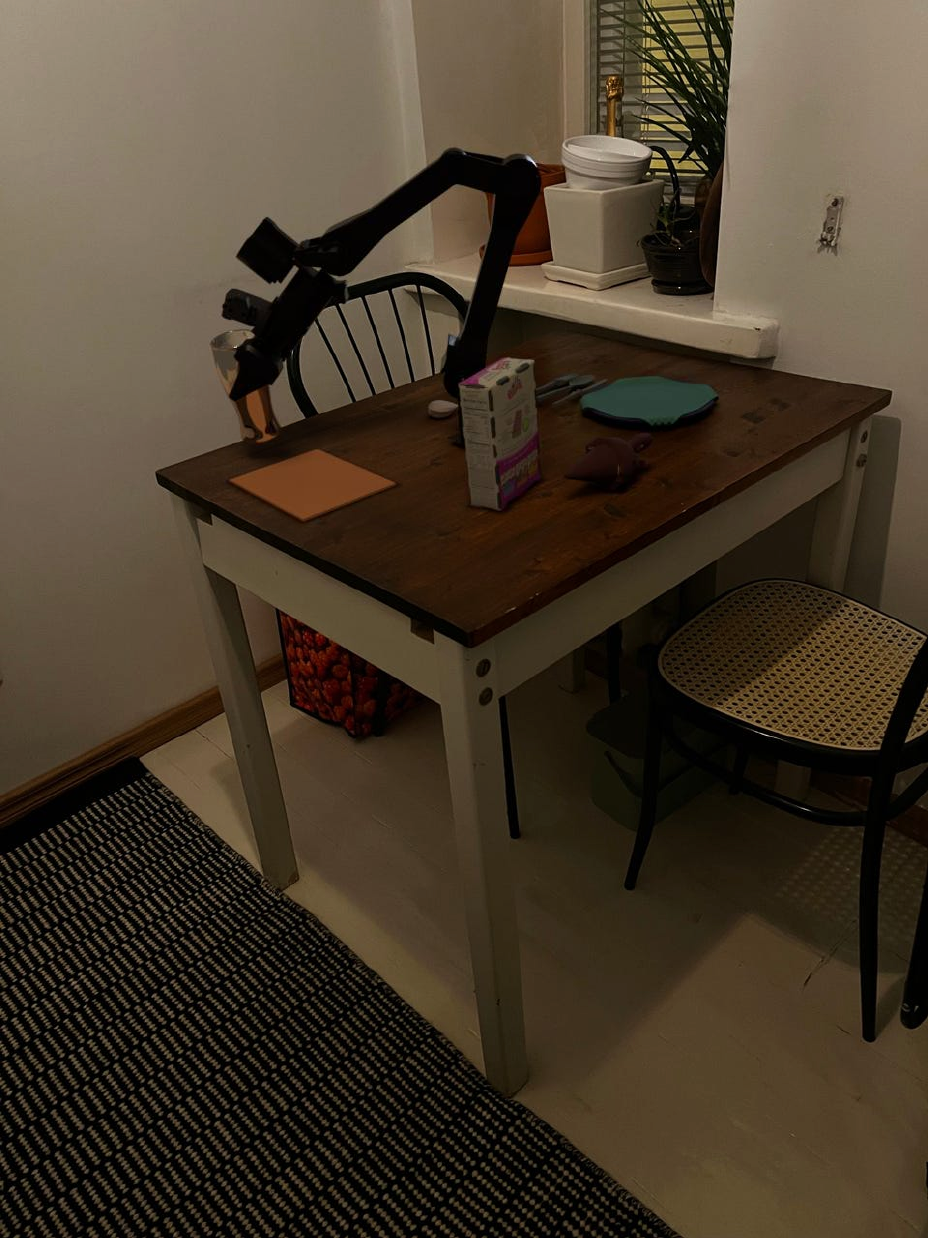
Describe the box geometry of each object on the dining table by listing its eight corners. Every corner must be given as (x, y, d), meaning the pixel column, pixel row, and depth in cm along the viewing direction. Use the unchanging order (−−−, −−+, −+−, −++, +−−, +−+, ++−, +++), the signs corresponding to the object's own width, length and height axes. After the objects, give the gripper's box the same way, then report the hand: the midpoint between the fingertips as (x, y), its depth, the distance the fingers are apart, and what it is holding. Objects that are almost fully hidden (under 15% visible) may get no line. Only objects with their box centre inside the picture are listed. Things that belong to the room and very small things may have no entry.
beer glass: (243, 425, 146) (214, 331, 136) (287, 420, 145) (261, 325, 136) (234, 447, 141) (203, 351, 131) (280, 442, 140) (252, 345, 130)
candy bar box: (510, 474, 131) (502, 355, 122) (542, 479, 128) (537, 358, 120) (467, 506, 123) (456, 381, 115) (500, 512, 121) (492, 386, 112)
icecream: (590, 466, 115) (674, 441, 123) (551, 437, 119) (634, 415, 127) (577, 514, 119) (659, 487, 127) (540, 484, 123) (621, 460, 131)
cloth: (396, 485, 131) (395, 482, 131) (303, 522, 123) (302, 519, 123) (317, 451, 144) (317, 448, 144) (229, 482, 137) (229, 479, 136)
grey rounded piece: (425, 414, 155) (424, 399, 153) (454, 409, 156) (453, 394, 154) (433, 422, 151) (432, 407, 150) (463, 416, 152) (462, 401, 151)
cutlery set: (667, 442, 136) (667, 426, 135) (509, 406, 155) (508, 392, 154) (739, 402, 148) (740, 387, 147) (584, 372, 167) (584, 359, 165)
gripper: (262, 254, 137) (205, 337, 143) (234, 282, 121) (171, 375, 128) (325, 305, 141) (267, 384, 147) (306, 339, 125) (241, 426, 131)
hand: (237, 391), depth 138 cm, fingers closed on beer glass, 7 cm apart
